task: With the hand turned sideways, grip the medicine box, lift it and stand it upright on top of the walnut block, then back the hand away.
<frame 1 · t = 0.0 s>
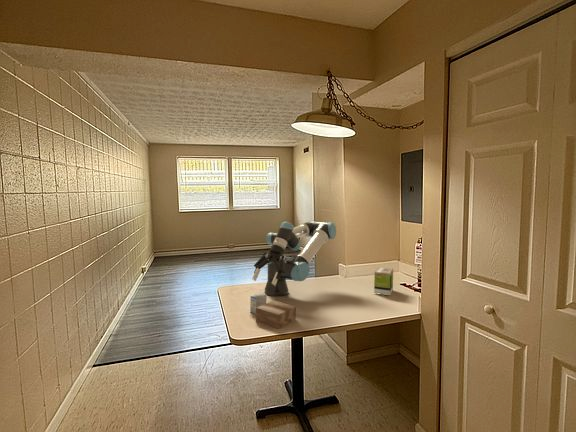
hand: (263, 282, 165), 15 cm above the table, tool tilted 35°, fingers open, 13 cm apart
tea box: (383, 292, 203), on the table
walnut block: (275, 321, 153), on the table
medicine box: (258, 311, 165), on the table
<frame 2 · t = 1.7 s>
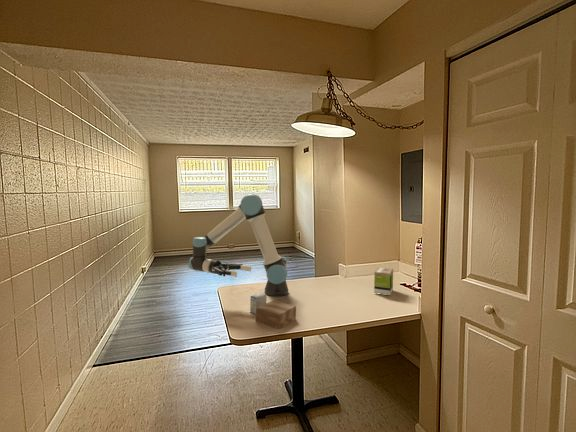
hand: (244, 271, 168), 20 cm above the table, tool horizontal, fingers open, 13 cm apart
nothing on the table moved.
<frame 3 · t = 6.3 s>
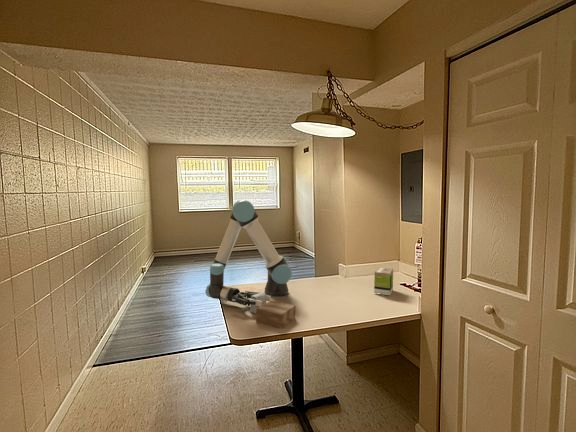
hand: (266, 301, 162), 6 cm above the table, tool horizontal, fingers closed on medicine box, 8 cm apart
medicine box: (258, 311, 165), on the table, touching gripper
when the fingers open (14 cm above the table, at t = 11.9 s): medicine box drops 2 cm, resting on walnut block.
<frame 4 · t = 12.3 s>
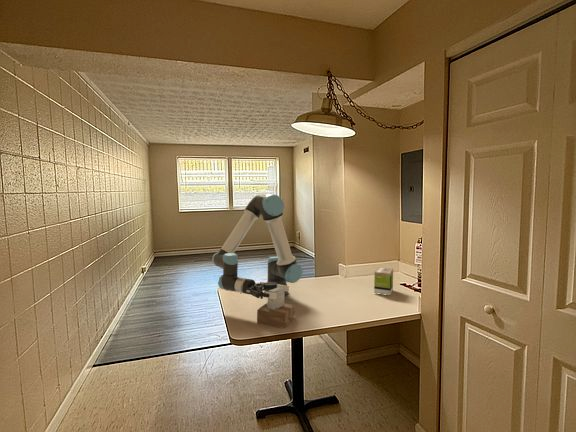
hand: (282, 292, 151), 14 cm above the table, tool horizontal, fingers open, 13 cm apart
walnut block: (276, 321, 153), on the table, touching medicine box
medicine box: (276, 307, 153), point 6 cm above the table, touching walnut block
everything else where it was.
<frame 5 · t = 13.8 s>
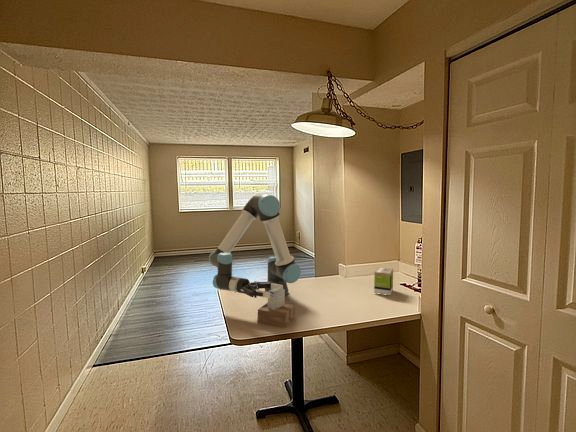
hand: (276, 291, 152), 15 cm above the table, tool horizontal, fingers open, 13 cm apart
nothing on the table moved.
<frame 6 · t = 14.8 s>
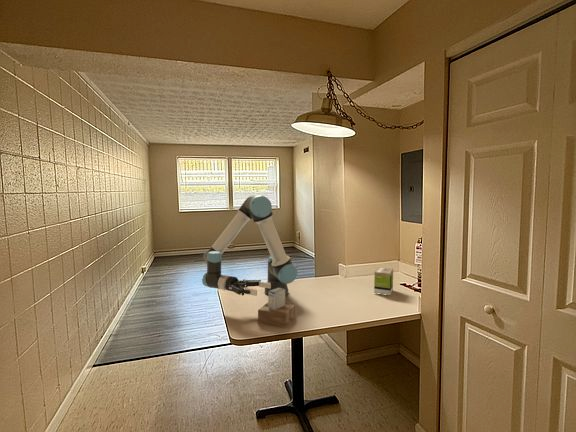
hand: (263, 289, 155), 15 cm above the table, tool horizontal, fingers open, 13 cm apart
nothing on the table moved.
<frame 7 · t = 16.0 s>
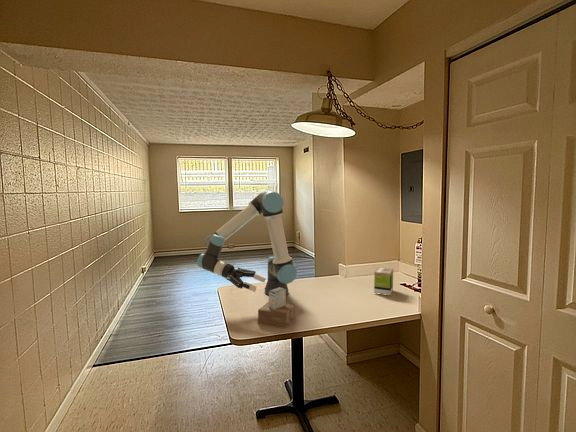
hand: (260, 284, 161), 15 cm above the table, tool tilted 75°, fingers open, 13 cm apart
nothing on the table moved.
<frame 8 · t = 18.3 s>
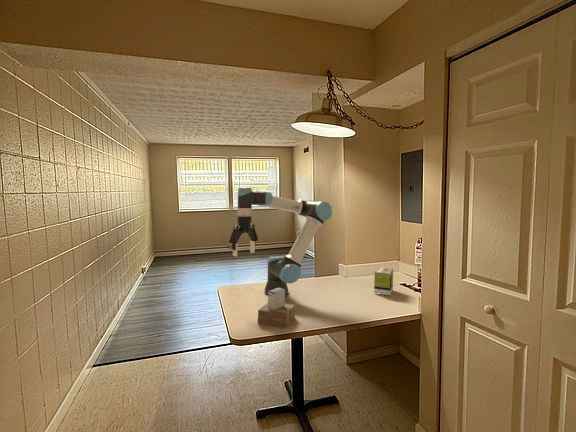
hand: (243, 254, 171), 29 cm above the table, tool pointing down, fingers open, 13 cm apart
nothing on the table moved.
at the end: medicine box inside the target area on the walnut block (0.4 cm from its centre), point 6.8 cm above the walnut block's base; medicine box tilted 0°; the gripper is holding nothing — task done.
